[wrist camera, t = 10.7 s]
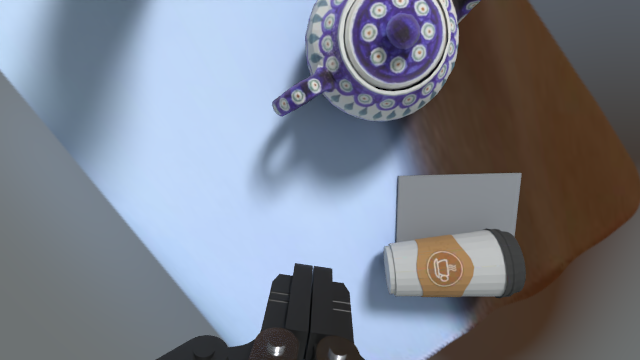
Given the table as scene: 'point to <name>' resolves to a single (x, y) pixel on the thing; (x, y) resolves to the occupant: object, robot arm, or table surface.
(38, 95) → the table surface
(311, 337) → the robot arm
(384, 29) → the teapot
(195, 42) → the table surface
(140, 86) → the table surface
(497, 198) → the mat
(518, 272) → the coffee cup
